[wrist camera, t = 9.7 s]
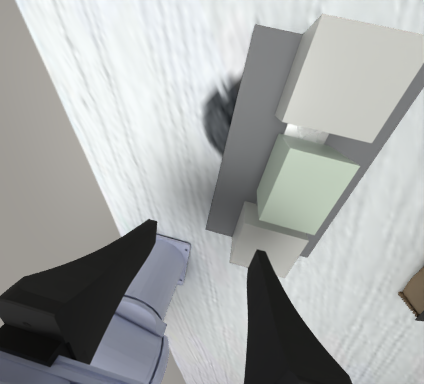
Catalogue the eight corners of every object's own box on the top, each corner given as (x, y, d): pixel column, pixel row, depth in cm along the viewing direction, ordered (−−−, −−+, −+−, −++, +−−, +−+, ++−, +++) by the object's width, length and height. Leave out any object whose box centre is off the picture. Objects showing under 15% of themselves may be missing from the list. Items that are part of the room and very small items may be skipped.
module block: (299, 202, 19) (314, 235, 15) (256, 191, 19) (259, 220, 15) (329, 146, 16) (360, 165, 12) (278, 133, 16) (290, 148, 12)
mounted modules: (279, 249, 23) (284, 278, 19) (232, 236, 23) (229, 262, 20) (387, 52, 13) (439, 37, 9) (302, 34, 13) (322, 13, 10)
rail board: (305, 251, 23) (308, 260, 22) (206, 224, 24) (204, 231, 23) (427, 65, 14) (444, 62, 12) (254, 28, 14) (255, 22, 13)
